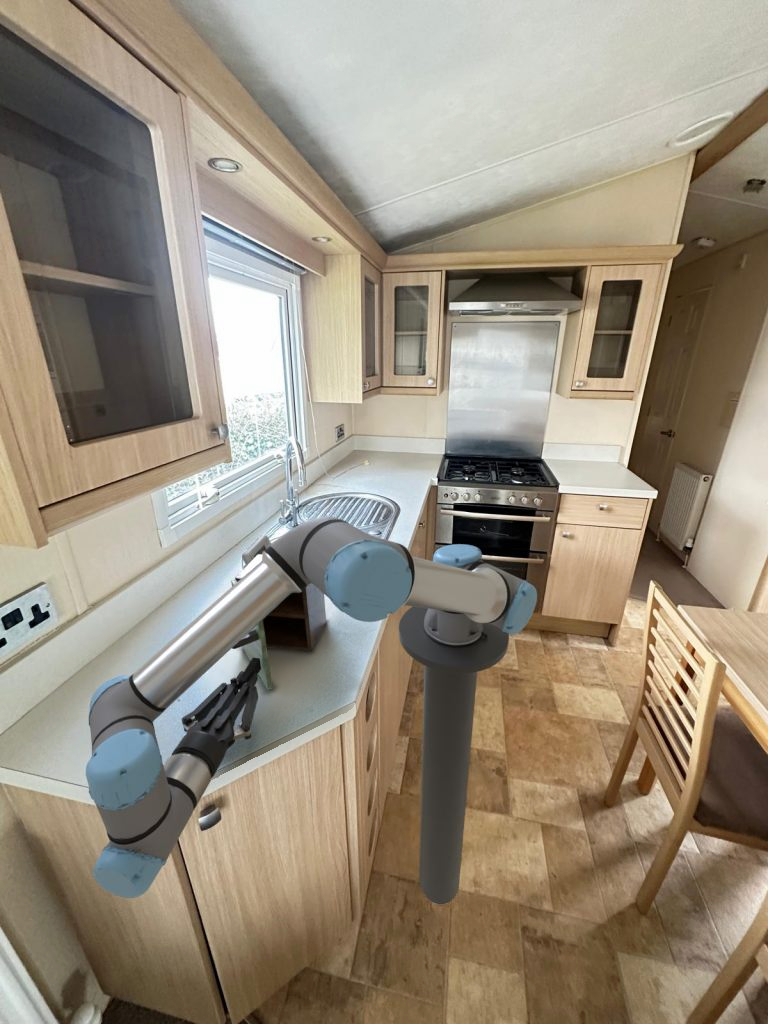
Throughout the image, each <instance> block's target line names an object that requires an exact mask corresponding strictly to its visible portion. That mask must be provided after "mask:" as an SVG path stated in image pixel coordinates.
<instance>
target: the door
mask: <svg viewBox="0 0 768 1024" xmlns="http://www.w3.org/2000/svg"><path fill="white" fill-rule="evenodd" d="M230 583H231V587H232V586H234V585H235V584H236V583H237V581H236V580H235V579H233V580H231V581H230ZM239 648H242V649H243V651H244V652H245V654H246V656H247V657H248V659H249V662H250V661H251V660H252V658H260V663H261V670H260V671H259V673H258V677H260V679H261V680H262V682H263V684H264V686H265V687H266V688H267V690H268V691H269V690H271V689H273V683H272V674H271V668H270V662H269V655H268V647H267V646H266V640H265V633H264V626H263V620H262V621H261V622H259V623H258V624H257V625H256V626H255V627H254V628H253V629H252V630H251V631H250V632H249V633H248V634H247V635H245V636H244V637H243V638H242V639H241V640H240V641H239V642H238V643H237V644H236V645H235V646H234V647H233V648H231V649H232V650H237V649H239Z"/></svg>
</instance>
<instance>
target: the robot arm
mask: <svg viewBox="0 0 768 1024" xmlns="http://www.w3.org/2000/svg"><path fill="white" fill-rule="evenodd" d="M482 559H483V553H482V550H481V549H480V548H479V547H477V546H474V545H471V544H466V543H465V544H464V543H463V544H461V543H458V544H457V543H456V544H455V543H454V544H448V545H445V546H442V547H440V548H438V549H437V550H435V551H434V554H433V557H432V560H430V559H425V558H421V557H417V556H414V555H413V554H412V552H411V551H410V549H408V547H406V546H405V545H404V544H402V543H400V542H394V541H391V540H388V539H385V538H381V537H377V536H374V535H371V534H369V533H368V532H365V531H363V530H362V529H359V528H358V527H356V526H354V525H352V524H351V523H349V522H347V521H346V520H344V519H342V518H339V517H335V516H320V517H315V518H311V519H308V520H306V521H304V522H302V523H300V524H298V525H296V526H295V527H293V528H291V529H289V531H287V532H285V533H284V534H282V535H281V536H280V537H279V538H277V539H276V540H275V541H273V543H271V545H270V546H269V547H268V548H267V549H266V550H264V551H263V552H262V560H261V562H260V563H259V564H257V565H256V566H255V567H254V568H253V569H252V570H251V571H249V572H248V573H247V574H246V575H245V576H244V577H243V578H242V579H240V580H239V581H238V582H237V583H236V584H235V585H234V586H232V585H231V587H230V588H229V589H228V590H226V591H225V592H224V593H223V594H222V595H221V596H220V597H218V598H217V599H216V601H214V602H213V603H212V604H211V605H210V606H208V607H207V608H206V609H205V610H204V611H203V612H202V613H200V614H199V615H198V616H197V617H195V618H194V619H193V620H192V621H191V622H190V623H189V624H188V625H187V626H186V627H184V628H183V629H182V630H181V631H180V632H179V633H178V634H176V636H174V637H173V638H172V639H171V640H170V641H168V643H166V644H165V645H164V646H163V647H162V648H160V649H159V650H158V651H157V652H156V653H155V654H154V655H153V656H151V658H149V659H148V660H147V661H146V662H145V663H144V664H143V665H141V666H140V667H139V668H138V669H137V670H136V671H135V672H134V673H132V674H131V675H120V676H116V677H114V678H112V679H109V680H106V681H105V682H103V683H102V684H101V685H100V686H98V688H97V689H96V690H95V691H94V692H93V694H92V696H91V699H90V702H89V712H88V726H89V729H90V740H91V757H90V759H89V760H88V762H86V763H87V764H86V766H85V777H86V781H87V784H88V794H89V796H90V798H91V800H93V802H94V805H95V806H96V809H97V811H98V814H99V816H100V818H101V820H102V822H103V825H104V828H105V830H106V836H107V837H108V838H107V839H108V840H109V841H108V843H107V845H106V846H104V847H103V849H102V850H101V853H100V855H99V857H98V858H97V860H96V861H95V863H94V866H93V871H92V873H93V878H94V880H95V881H96V883H97V884H98V885H99V886H100V887H101V888H102V889H104V891H106V892H108V893H110V894H111V895H114V896H116V897H119V898H124V899H135V898H138V897H141V896H143V895H144V894H145V893H146V892H147V891H148V890H149V889H150V887H151V886H152V884H153V883H154V881H155V879H156V877H158V874H159V873H160V871H161V869H162V867H164V866H165V865H166V864H167V860H168V859H169V857H170V855H171V854H172V851H174V848H175V846H176V844H177V842H178V840H179V839H180V837H181V835H182V833H183V831H184V829H185V828H186V826H187V824H188V823H189V820H190V819H191V818H192V815H193V814H194V811H195V809H196V807H197V806H198V804H199V803H200V800H201V799H202V798H203V796H204V795H205V794H204V793H205V792H206V790H207V788H208V787H209V785H210V783H211V781H212V778H213V777H214V776H215V775H216V773H217V771H218V769H219V767H220V765H221V764H222V762H223V760H224V759H225V756H226V754H227V751H228V750H229V749H230V748H231V747H232V746H233V745H234V744H235V743H236V740H239V739H242V738H243V739H244V740H247V741H248V740H250V739H252V730H251V726H252V723H253V720H254V716H255V711H256V708H257V704H258V700H259V693H258V686H257V685H256V684H257V683H258V681H259V674H258V673H259V671H260V670H261V663H260V658H252V660H251V661H250V660H249V663H248V664H247V666H246V668H245V669H244V670H241V671H240V672H238V674H237V675H236V677H233V678H232V677H231V679H229V681H230V683H227V682H222V683H221V684H219V685H218V686H217V687H216V688H215V689H214V690H213V691H212V692H211V693H210V694H209V695H207V697H206V698H205V699H204V700H203V701H202V702H200V704H198V706H196V708H195V709H193V710H192V711H190V712H189V713H187V714H186V715H183V717H182V718H181V724H182V728H183V731H184V732H186V734H185V735H184V736H183V737H182V738H181V739H180V741H179V743H178V744H177V746H176V747H175V748H174V750H173V751H172V752H171V754H170V756H169V757H168V758H167V759H166V760H165V762H164V763H163V755H162V754H161V751H160V746H159V742H158V738H157V734H156V730H155V724H154V721H155V720H157V719H158V718H159V717H160V716H161V715H162V714H163V713H164V712H165V711H166V710H167V709H169V707H170V706H171V705H173V703H174V702H176V701H177V700H178V699H179V698H180V697H181V696H182V695H183V694H185V692H186V691H187V690H189V689H190V688H191V687H192V686H193V685H194V684H195V683H196V682H197V681H198V680H199V679H200V678H201V677H203V676H204V675H205V674H206V673H207V672H208V671H209V670H210V669H211V668H212V667H213V666H214V665H216V664H217V663H218V662H219V661H220V660H221V659H222V658H223V657H224V656H225V655H226V654H227V653H229V651H231V649H232V648H233V647H234V646H235V645H236V644H237V643H238V642H239V641H240V640H241V639H242V638H243V637H244V636H245V635H247V634H248V633H249V632H250V631H251V630H252V629H253V628H254V627H255V626H256V625H257V624H258V623H259V622H261V621H262V620H263V619H264V618H265V617H266V616H267V615H268V614H269V613H270V612H271V611H272V610H273V609H275V608H276V607H277V606H278V605H279V604H280V603H281V602H282V601H283V600H284V599H285V598H286V597H287V596H289V595H290V594H291V593H300V592H301V591H303V590H304V589H305V588H306V587H307V586H308V585H309V584H311V583H313V584H314V585H315V586H316V587H317V588H318V589H319V590H320V591H322V592H323V593H324V596H326V597H327V598H328V599H329V600H330V601H331V603H332V605H334V607H336V608H337V609H338V610H339V611H340V612H342V613H344V614H346V615H347V616H349V617H351V618H352V619H354V620H357V621H360V622H366V623H374V622H379V621H383V620H385V619H387V618H388V615H389V614H391V615H394V614H396V613H397V611H399V610H400V609H402V607H404V606H406V607H407V606H408V607H413V606H414V607H421V608H428V611H427V613H426V615H425V619H424V631H425V633H426V635H427V636H428V637H429V638H430V639H431V640H433V641H434V642H436V643H438V644H441V645H444V646H448V647H466V646H470V645H472V644H474V643H476V642H477V641H479V639H480V638H481V636H484V637H485V638H487V637H488V635H486V634H485V633H484V632H483V623H484V624H492V625H494V626H496V627H498V628H500V629H501V630H502V631H503V632H506V633H508V634H509V635H511V636H513V635H517V634H519V633H520V632H521V631H522V630H523V629H524V628H525V627H526V626H527V624H528V623H529V621H530V620H531V618H532V616H533V614H534V611H535V608H536V607H537V602H538V592H537V589H536V587H535V586H534V585H533V584H531V583H529V582H528V581H527V580H525V579H522V578H519V577H517V576H515V575H513V574H511V573H509V572H507V571H505V570H503V569H501V568H498V567H496V566H494V565H492V564H490V563H487V562H485V561H484V560H482ZM242 710H243V711H242ZM241 712H242V715H241V721H240V722H239V723H238V725H237V728H236V730H235V729H234V727H235V725H236V720H237V719H238V717H239V716H240V713H241Z"/></svg>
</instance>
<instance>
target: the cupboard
mask: <svg viewBox="0 0 768 1024" xmlns="http://www.w3.org/2000/svg"><path fill="white" fill-rule="evenodd" d="M261 560H262V555H257V556H256V557H255V558H254V559H253V560H252V561H251V562H250V563H249V564H248V565H247V566H246V567H245V568H244V567H243V569H242V570H241V571H240V572H239V573H238V574H237V575H236V576H235V577H234V580H236V581H237V582H238V581H239V580H240V579H242V578H243V577H244V576H245V575H246V574H247V573H248V572H249V571H251V570H252V569H253V568H254V567H255V566H256V565H257V564H259V563H260V562H261ZM325 600H326V599H325V594H324V593H323V592H322V591H320V590H319V589H318V588H317V587H316V586H315V585H314V584H313V583H311V584H309V585H308V586H307V587H306V588H305V589H304V590H303V591H301V592H300V593H291V594H290V595H289V596H287V597H286V598H285V599H284V600H283V601H282V602H281V603H280V604H279V605H278V606H277V607H276V608H275V609H273V610H272V611H271V612H270V613H269V614H268V615H267V616H266V617H265V618H264V619H263V626H264V633H265V640H266V646H267V648H271V649H282V650H291V651H301V652H311V653H312V652H313V651H314V649H315V646H316V645H317V642H318V641H319V639H320V636H321V634H322V632H323V629H324V627H325V626H326V624H327V613H326V601H325Z"/></svg>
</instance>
